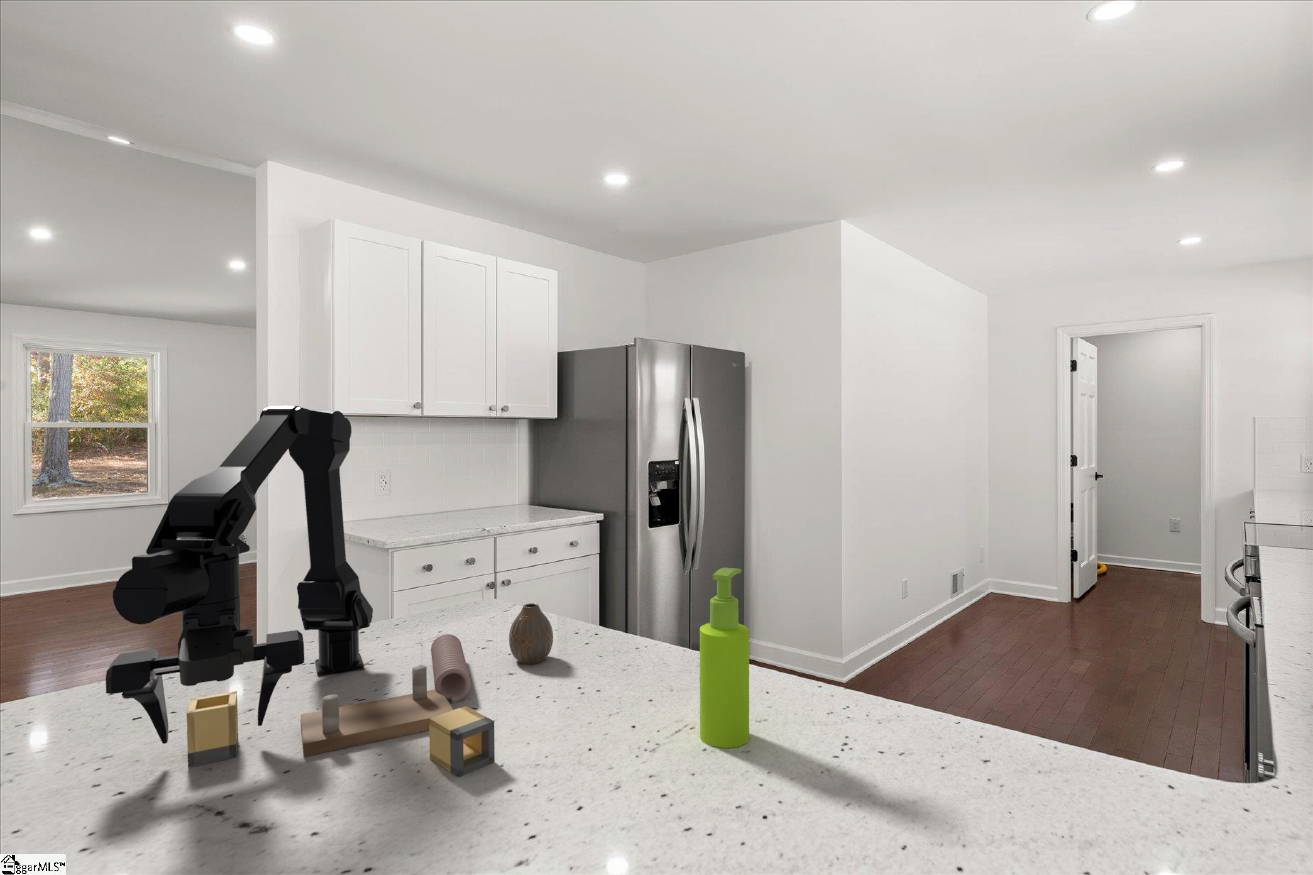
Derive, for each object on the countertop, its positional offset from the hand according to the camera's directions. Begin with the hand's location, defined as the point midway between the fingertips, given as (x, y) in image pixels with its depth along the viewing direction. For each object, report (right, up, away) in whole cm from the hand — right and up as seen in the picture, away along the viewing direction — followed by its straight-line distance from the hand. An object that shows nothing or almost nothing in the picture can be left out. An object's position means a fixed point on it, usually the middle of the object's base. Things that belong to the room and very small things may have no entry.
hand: (214, 733), depth 80 cm
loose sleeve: (0, -2, 0) cm, 2 cm away
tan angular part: (+31, 0, -4) cm, 32 cm away
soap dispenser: (+59, -2, +4) cm, 60 cm away
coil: (+20, -2, +22) cm, 30 cm away
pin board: (+16, -2, +7) cm, 18 cm away
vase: (+31, -2, +31) cm, 44 cm away
